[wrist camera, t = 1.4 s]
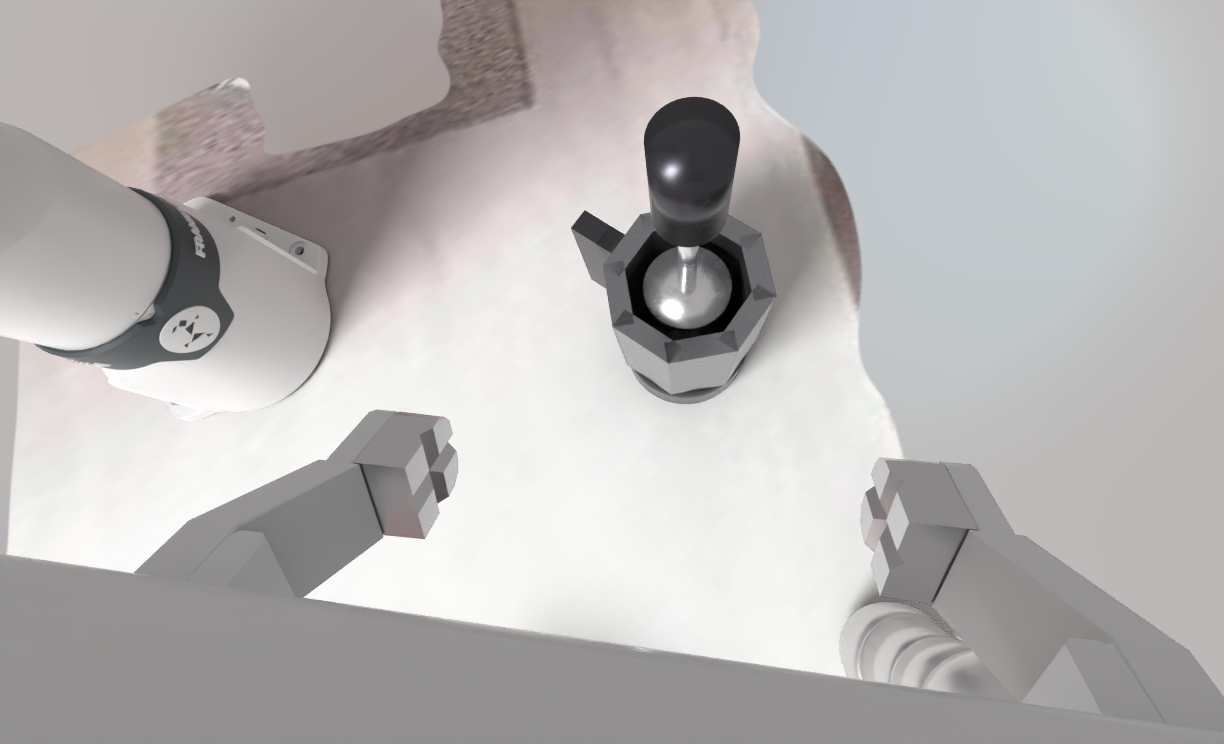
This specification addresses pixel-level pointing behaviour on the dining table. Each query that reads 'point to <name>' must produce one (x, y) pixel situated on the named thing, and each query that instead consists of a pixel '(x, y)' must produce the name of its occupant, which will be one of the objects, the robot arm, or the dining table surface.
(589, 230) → the press carafe
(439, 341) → the dining table surface
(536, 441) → the dining table surface
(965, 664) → the plastic bottle
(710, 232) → the plunger
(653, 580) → the dining table surface
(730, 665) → the robot arm
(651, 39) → the dining table surface
